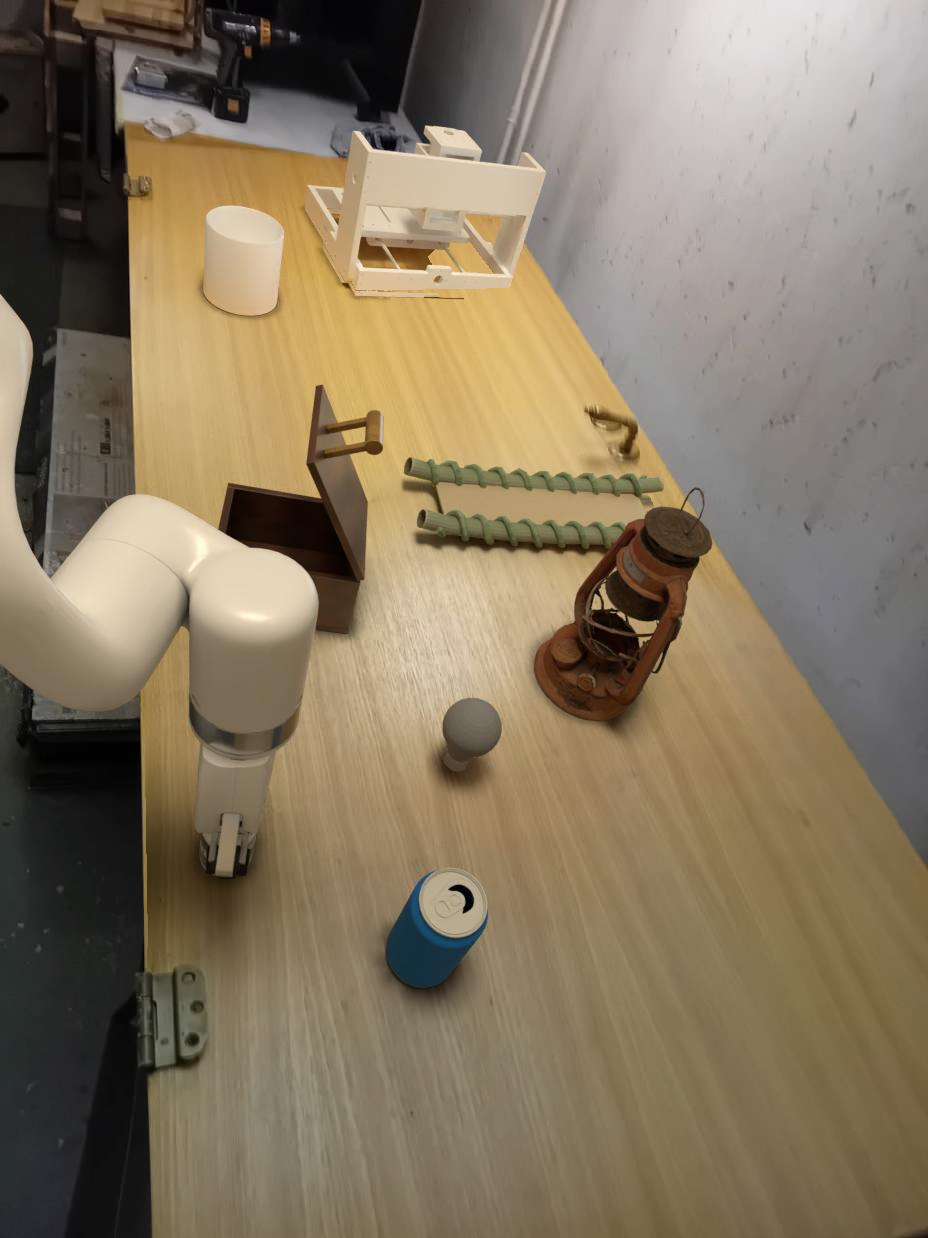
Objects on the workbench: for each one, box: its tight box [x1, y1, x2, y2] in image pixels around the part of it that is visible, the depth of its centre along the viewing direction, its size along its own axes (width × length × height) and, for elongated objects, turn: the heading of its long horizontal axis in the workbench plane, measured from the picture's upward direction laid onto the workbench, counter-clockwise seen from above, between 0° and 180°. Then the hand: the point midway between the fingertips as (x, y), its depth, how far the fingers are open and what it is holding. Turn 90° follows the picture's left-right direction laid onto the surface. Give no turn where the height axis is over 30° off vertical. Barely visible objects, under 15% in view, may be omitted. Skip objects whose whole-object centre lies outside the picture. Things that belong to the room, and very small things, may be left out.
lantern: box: [533, 486, 713, 722], centre depth 89 cm, size 17×13×30 cm
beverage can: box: [385, 867, 489, 989], centre depth 69 cm, size 6×6×12 cm
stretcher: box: [403, 456, 665, 550], centre depth 116 cm, size 41×14×5 cm, turn 102°
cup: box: [202, 205, 285, 317], centre depth 130 cm, size 12×12×12 cm
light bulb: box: [441, 697, 503, 772], centre depth 84 cm, size 6×6×10 cm
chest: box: [217, 482, 361, 635], centre depth 94 cm, size 16×13×9 cm
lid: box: [305, 384, 385, 582], centre depth 86 cm, size 16×13×7 cm
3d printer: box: [303, 125, 547, 299], centre depth 151 cm, size 35×32×25 cm
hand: (235, 816), depth 69 cm, fingers open, 9 cm apart
